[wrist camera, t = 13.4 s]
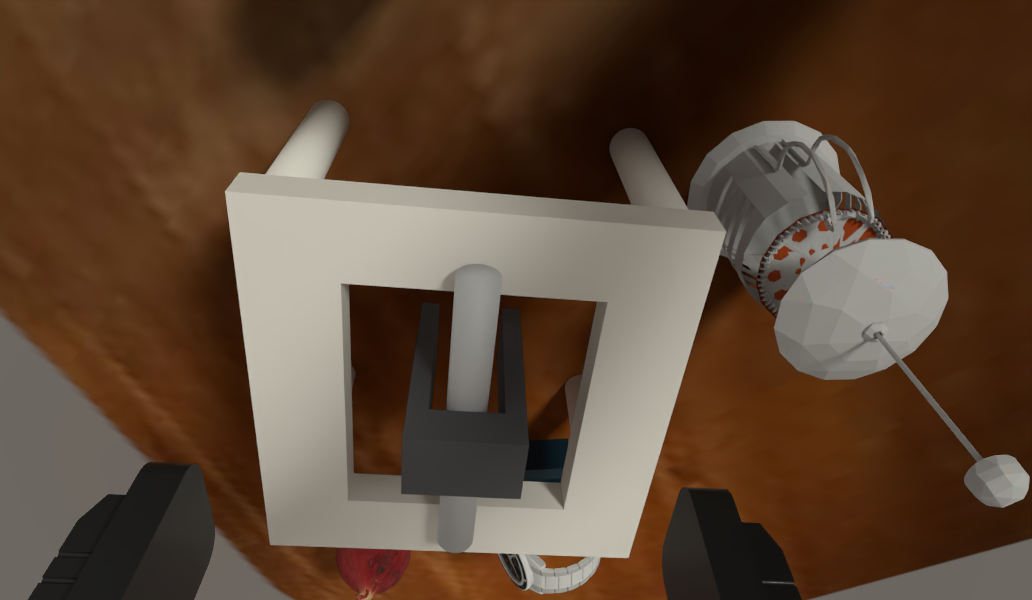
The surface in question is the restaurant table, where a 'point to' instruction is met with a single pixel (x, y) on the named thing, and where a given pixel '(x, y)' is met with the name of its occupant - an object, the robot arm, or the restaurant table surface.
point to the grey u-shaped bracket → (466, 424)
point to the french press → (830, 268)
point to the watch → (529, 568)
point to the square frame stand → (462, 339)
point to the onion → (371, 569)
